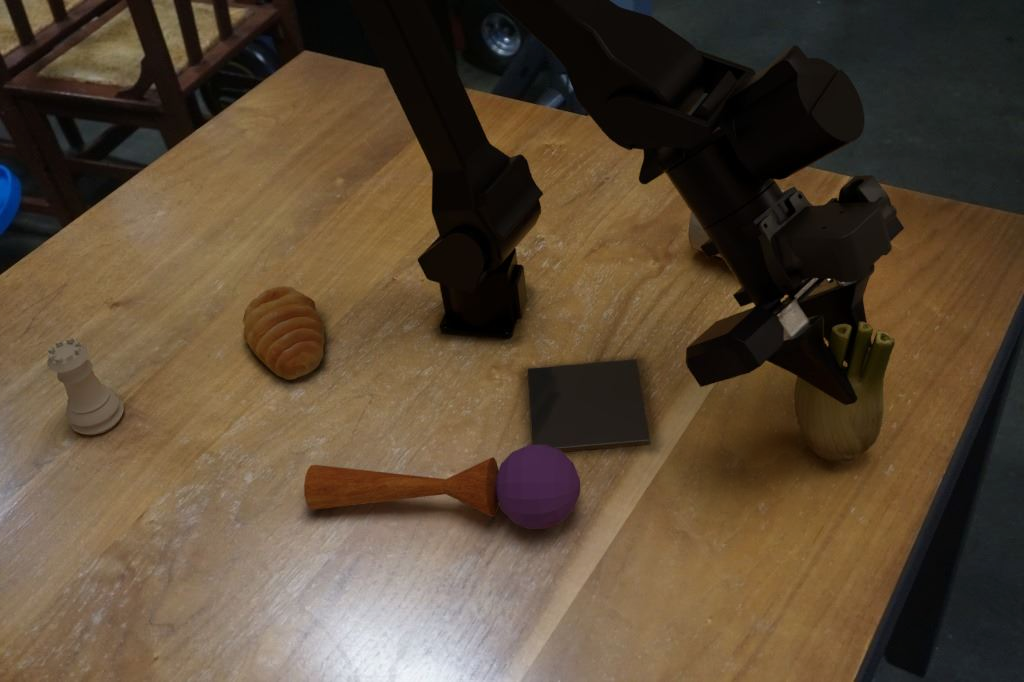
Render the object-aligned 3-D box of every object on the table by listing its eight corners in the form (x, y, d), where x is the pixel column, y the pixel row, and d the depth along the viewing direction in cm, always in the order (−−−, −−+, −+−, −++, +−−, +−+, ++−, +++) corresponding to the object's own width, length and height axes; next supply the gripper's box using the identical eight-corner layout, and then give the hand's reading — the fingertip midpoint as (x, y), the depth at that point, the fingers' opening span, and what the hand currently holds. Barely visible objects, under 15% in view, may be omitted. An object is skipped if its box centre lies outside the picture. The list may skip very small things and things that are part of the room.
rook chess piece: (77, 446, 89) (39, 376, 84) (67, 412, 92) (30, 343, 87) (131, 424, 91) (97, 354, 85) (119, 391, 94) (86, 322, 88)
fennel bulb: (780, 436, 82) (796, 319, 74) (825, 404, 84) (845, 286, 76) (841, 482, 79) (865, 365, 71) (886, 447, 81) (915, 329, 72)
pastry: (345, 366, 93) (335, 333, 91) (269, 396, 92) (257, 363, 89) (311, 304, 100) (302, 272, 97) (240, 331, 98) (228, 298, 96)
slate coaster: (533, 454, 84) (532, 450, 84) (528, 372, 91) (527, 368, 91) (650, 444, 84) (650, 440, 84) (636, 362, 91) (636, 358, 90)
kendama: (316, 430, 83) (579, 426, 78) (333, 492, 86) (588, 491, 81) (289, 481, 78) (569, 480, 73) (309, 544, 81) (578, 547, 77)
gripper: (731, 237, 63) (878, 457, 64) (898, 97, 72) (1024, 292, 74) (626, 287, 73) (756, 477, 74) (785, 158, 82) (898, 329, 83)
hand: (862, 391), depth 76 cm, fingers closed on fennel bulb, 2 cm apart
